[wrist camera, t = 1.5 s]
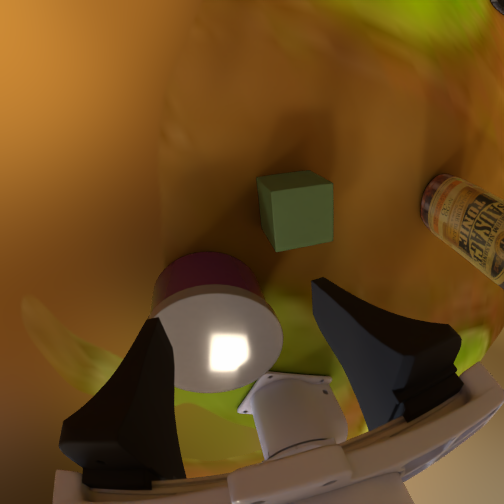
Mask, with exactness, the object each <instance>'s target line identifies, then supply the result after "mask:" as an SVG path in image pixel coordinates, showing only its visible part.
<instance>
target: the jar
mask: <svg viewBox="0 0 504 504" xmlns="http://www.w3.org/2000/svg"><path fill="white" fill-rule="evenodd" d="M156 317H159V318H160V321H161V323H162V325H163V327H164V330H165V332H166V334H167V336H168V338H169V340H170V343H171V345H172V347H173V353H174V363H175V382H174V386H175V387H177V388H180V389H183V390H187V391H192V392H199V393H218V392H225V391H230V390H234V389H237V388H240V387H243V386H245V385H248V384H250V383H251V382H253V381H255V380H257V379H258V378H260V377H261V376H262V375H264V374H265V373H266V372H267V371H268V370H269V369H270V368H271V367H272V366H273V365H274V363H275V362H276V360H277V359H278V357H279V355H280V352H281V350H282V345H283V331H282V328H281V325H280V322H279V320H278V318H277V315H276V314H275V312H274V310H273V309H272V308H271V306H270V305H269V304H268V303H267V302H266V300H265V298H264V295H263V293H262V290H261V288H260V285H259V283H258V280H257V278H256V276H255V275H254V273H253V272H252V271H251V269H250V268H249V267H248V266H247V265H246V264H244V263H243V262H242V261H240V260H238V259H236V258H235V257H232V256H230V255H227V254H223V253H219V252H198V253H193V254H189V255H186V256H184V257H181V258H179V259H177V260H176V261H174V262H173V263H171V264H170V265H168V266H167V267H166V268H165V269H164V270H163V272H162V273H161V274H160V275H159V277H158V279H157V281H156V283H155V286H154V290H153V296H152V303H151V310H150V315H149V317H148V319H151V318H156Z"/></svg>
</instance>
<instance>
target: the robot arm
mask: <svg viewBox="0 0 504 504" xmlns="http://www.w3.org/2000/svg"><path fill="white" fill-rule="evenodd" d="M311 283H312V305H313V315H314V317H315V320H316V322H317V324H318V327H319V329H320V331H321V332H322V334H323V336H324V337H325V339H326V341H327V342H328V344H329V346H330V347H331V349H332V350H333V352H334V354H335V355H336V357H337V358H338V360H339V362H340V363H341V365H342V367H343V369H344V370H345V373H346V375H347V377H348V379H349V381H350V383H351V386H352V388H353V390H354V393H355V395H356V397H357V400H358V402H359V405H360V408H361V410H362V413H363V415H364V418H365V421H366V424H367V427H368V430H369V432H366V433H364V434H361V435H359V436H357V437H354V438H352V439H349V440H347V441H346V438H347V433H348V426H347V421H346V418H345V416H344V414H343V412H342V410H341V408H340V406H339V404H338V402H337V400H336V398H335V396H334V394H333V392H332V390H331V388H330V386H329V383H330V382H331V381H332V378H331V377H330V376H315V375H301V374H290V373H279V372H270V371H267V372H266V373H265V374H264V375H262V376H261V377H260V378H258V380H257V381H256V383H255V384H254V386H253V387H252V389H251V390H250V392H249V393H248V395H247V396H246V397H245V399H244V400H243V402H242V403H241V405H240V406H239V408H238V409H237V411H238V413H243V414H253V417H254V421H255V425H256V428H257V432H258V436H259V439H260V444H261V447H262V451H263V455H264V458H265V460H264V461H262V463H259V464H254V465H250V466H246V467H243V468H239V469H237V470H235V471H233V472H231V473H227V474H220V475H214V476H206V477H198V478H189V479H187V478H186V474H185V470H184V466H183V462H182V457H181V453H180V447H179V442H178V436H177V429H176V422H175V414H174V382H175V363H174V353H173V347H172V345H171V343H170V340H169V338H168V336H167V334H166V332H165V330H164V327H163V325H162V323H161V321H160V318H159V317H156V318H151V319H147V320H146V322H145V323H144V325H143V327H142V329H141V331H140V332H139V334H138V336H137V338H136V339H135V341H134V343H133V345H132V346H131V348H130V350H129V351H128V353H127V355H126V356H125V358H124V359H123V361H122V362H121V364H120V366H119V367H118V368H117V370H116V371H115V373H114V374H113V375H112V376H111V378H110V379H109V380H108V381H107V383H106V384H105V385H104V386H103V387H102V388H101V389H100V390H99V391H98V392H97V393H96V395H95V396H94V397H93V398H91V399H90V400H89V401H88V402H87V403H86V404H85V405H84V406H83V407H81V408H80V409H79V410H78V411H77V412H75V413H74V414H72V415H71V416H70V417H68V418H67V419H66V420H64V421H63V426H62V430H61V436H60V441H59V448H60V450H61V451H62V452H63V453H64V454H65V455H66V456H67V457H68V458H70V459H71V460H72V461H74V462H75V463H77V464H78V465H79V466H81V467H82V468H83V474H81V473H78V472H74V471H66V470H56V476H55V484H54V495H53V496H54V497H53V504H414V502H413V500H412V498H411V496H410V494H409V493H408V491H407V489H406V487H405V485H404V483H403V482H405V481H407V480H408V479H410V478H412V477H413V476H415V475H417V474H418V473H420V472H421V471H423V470H425V469H426V468H428V467H429V466H431V465H432V464H434V463H435V462H437V461H438V460H440V459H441V458H442V457H444V456H445V455H447V454H448V453H449V452H451V451H452V450H454V449H455V448H456V447H458V446H459V445H460V444H461V443H463V442H464V441H466V440H467V439H468V438H469V437H471V436H472V435H473V434H474V433H476V432H477V431H478V430H479V429H481V428H482V427H483V426H484V425H485V424H486V423H487V422H488V421H489V420H490V419H491V418H492V416H493V415H494V414H495V413H496V412H497V410H498V409H499V408H500V407H501V405H502V404H503V403H504V390H503V388H502V387H501V386H500V385H499V384H498V382H497V381H496V380H495V379H494V378H493V376H492V375H491V374H490V373H489V372H488V370H487V369H486V368H485V367H484V366H483V365H482V364H481V362H477V363H476V364H474V365H473V366H471V367H470V368H469V369H467V370H466V371H464V372H463V373H462V374H461V375H460V376H459V377H458V376H457V374H456V373H455V372H456V371H457V368H456V367H455V365H454V364H453V363H454V361H455V359H456V356H457V354H458V352H459V350H460V347H461V340H462V339H461V337H460V336H459V335H458V334H457V332H456V331H455V330H454V329H453V328H452V327H451V326H450V325H449V324H440V323H431V322H425V321H420V320H415V319H411V318H407V317H404V316H400V315H397V314H394V313H391V312H388V311H386V310H383V309H381V308H378V307H376V306H374V305H371V304H369V303H367V302H365V301H363V300H361V299H360V298H358V297H356V296H354V295H352V294H351V293H349V292H347V291H345V290H344V289H342V288H340V287H339V286H337V285H336V284H334V283H332V282H331V281H329V280H327V279H326V278H324V277H322V278H319V279H315V280H311Z"/></svg>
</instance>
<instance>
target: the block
mask: <svg viewBox="0 0 504 504" xmlns="http://www.w3.org/2000/svg"><path fill="white" fill-rule="evenodd" d="M256 180H257V189H258V198H259V207H260V217H261V226H262V230H263V231H264V233H265V235H266V236H267V238H268V240H269V241H270V243H271V245H272V246H273V248H274V250H275V251H276V252H280V251H285V250H290V249H295V248H300V247H306V246H311V245H316V244H321V243H326V242H331V241H333V183H332V182H330V181H328V180H326V179H325V178H323V177H321V176H319V175H317V174H315V173H313V172H311V171H310V170H306V171H298V172H290V173H282V174H275V175H268V176H261V177H256Z"/></svg>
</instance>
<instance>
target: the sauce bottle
mask: <svg viewBox="0 0 504 504" xmlns="http://www.w3.org/2000/svg"><path fill="white" fill-rule="evenodd" d="M420 212H421V218H422V220H423V222H424V224H425V225H426V226H427V228H428V229H429V230H430V231H431V232H432V233H433V234H434V235H435V236H437V237H438V238H440V239H441V240H442V241H444V242H445V243H446V244H448V245H449V246H450V247H452V248H453V249H454V250H455V251H457V252H458V253H459V254H460V255H462V256H463V257H464V258H465V259H467V260H468V261H469V262H470V263H472V264H473V265H474V266H475V267H477V268H478V269H479V270H480V271H481V272H483V273H484V274H485V275H486V276H488V277H489V278H490V279H491V280H492V281H494V282H495V283H496V284H498V285H499V286H500V287H501V288H503V289H504V200H503V199H501V198H499V197H497V196H495V195H493V194H491V193H490V192H488V191H486V190H484V189H482V188H480V187H478V186H476V185H474V184H472V183H470V182H468V181H466V180H464V179H462V178H459V177H455V176H453V175H449V174H441V175H438V176H436V177H435V178H434V179H433V180H432V181H431V182H430V183H429V184H428V186H427V187H426V189H425V191H424V193H423V197H422V202H421V211H420Z"/></svg>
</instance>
